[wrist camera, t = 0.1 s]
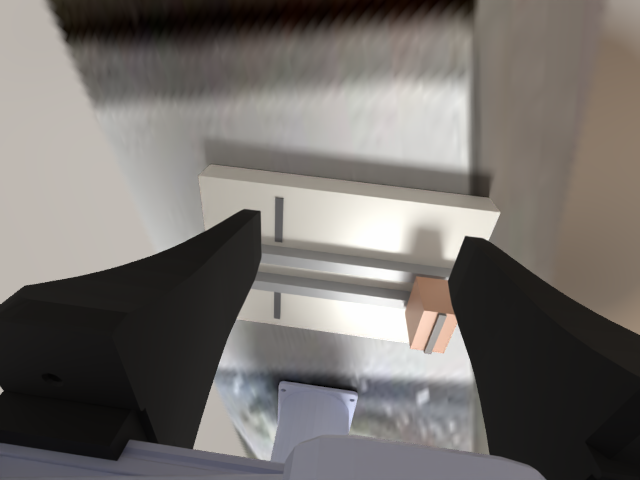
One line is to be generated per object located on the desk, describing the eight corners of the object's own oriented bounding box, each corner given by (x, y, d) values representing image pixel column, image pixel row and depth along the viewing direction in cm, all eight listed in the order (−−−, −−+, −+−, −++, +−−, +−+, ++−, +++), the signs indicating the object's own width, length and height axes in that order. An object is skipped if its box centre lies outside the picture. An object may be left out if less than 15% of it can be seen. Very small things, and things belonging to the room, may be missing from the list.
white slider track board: (436, 328, 27) (444, 358, 25) (224, 299, 28) (210, 325, 25) (489, 197, 21) (507, 220, 18) (210, 164, 21) (190, 182, 19)
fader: (431, 307, 23) (444, 356, 20) (403, 303, 23) (410, 351, 20) (445, 271, 21) (461, 318, 18) (414, 267, 21) (424, 313, 18)
